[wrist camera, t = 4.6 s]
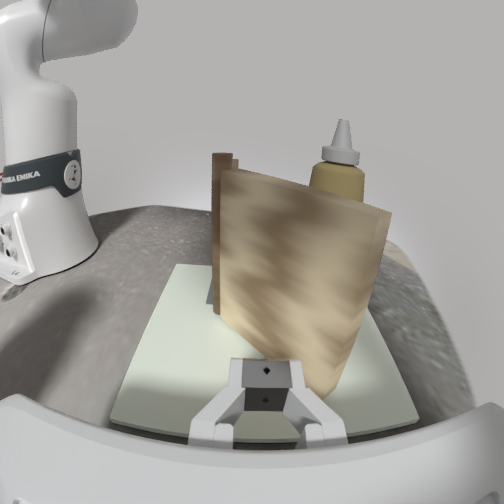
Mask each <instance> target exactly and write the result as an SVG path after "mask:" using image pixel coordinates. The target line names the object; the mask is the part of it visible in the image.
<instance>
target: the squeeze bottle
mask: <svg viewBox="0 0 504 504" xmlns="http://www.w3.org/2000/svg"><path fill="white" fill-rule="evenodd" d="M322 148H323V149H322V159H323V160H326V161H324V162H320V163H318V164H316V165H315V166H313V169H312V174H311V180H310V184H309V187H313V188H316V189H320V190H323V191H326V192H330V193H333V194H336V195H340V196H343V197H346V198H349V199H352V200H356V201H359V202H362V203H363V195H364V177H365V174H364V173H363V172H362V171H361V170H360V169H358V168H357V167H355V166H354V165H358V164H359V156H360V153H359V152H358V151H355V150H353V149H352V142H351V134H350V126H349V121H348V120H342V119H339V122H338V125H337V128H336V132H335V135H334V138H333V141H332V144H331V146H323V147H322Z"/></svg>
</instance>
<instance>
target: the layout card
mask: <svg viewBox="0 0 504 504" xmlns="http://www.w3.org/2000/svg"><path fill="white" fill-rule="evenodd" d="M231 357H233V358H250V359H268V358H266V357H265V356H264V355H263V354H262V353H260V352H259V351H258V350H257V349H256V348H255V347H253V346H252V345H251V344H250V343H249V342H248V341H246V340H245V339H244V338H243V337H242V336H241V335H240V334H238V333H237V332H236V331H235V330H234V329H233V328H232V327H231V326H229V325H228V324H227V323H226V322H225V321H224V320H223V319H222V318H221V317H220V315H217V314H215V313H214V312H213V290H212V266H205V265H187V264H176V266H175V268H174V270H173V272H172V274H171V276H170V278H169V281H168V283H167V285H166V287H165V289H164V291H163V293H162V295H161V297H160V299H159V301H158V303H157V305H156V308H155V310H154V312H153V314H152V316H151V318H150V321H149V323H148V325H147V327H146V329H145V332H144V334H143V336H142V338H141V341H140V343H139V345H138V347H137V350H136V352H135V354H134V357H133V359H132V361H131V364H130V366H129V369H128V371H127V373H126V376H125V378H124V381H123V383H122V386H121V388H120V391H119V393H118V396H117V399H116V401H115V404H114V406H113V409H112V412H111V414H110V417H109V418H110V420H111V421H112V423H116V424H120V425H124V426H128V427H132V428H136V429H141V430H145V431H150V432H155V433H161V434H166V435H173V436H179V437H186V438H189V433H190V427H191V421H192V419H193V418H194V417H195V416H196V415H197V414H198V413H199V412H200V411H201V410H202V409H203V408H204V407H205V406H206V405H207V404H208V403H209V402H210V401H211V400H212V399H213V398H214V397H215V396H216V395H217V394H218V393H219V392H220V391H221V390H222V389H223V388H224V387H228V380H229V368H230V359H231ZM242 365H243V363H242ZM322 401H323V402H324V403H325V404H326V405H327V406H328V407H329V408H330V409H332V410H333V411H334V412H335V413H336V414H337V415H338V416H339V417H340V418H341V419H342V420H343V422H344V426H345V431H346V435H347V437H351V436H357V435H363V434H369V433H374V432H379V431H384V430H389V429H393V428H397V427H402V426H406V425H409V424H413V423H416V422H417V421H418V420H419V416H418V413H417V411H416V409H415V406H414V404H413V402H412V399H411V397H410V395H409V392H408V390H407V388H406V386H405V383H404V381H403V379H402V377H401V375H400V372H399V370H398V368H397V366H396V364H395V362H394V360H393V358H392V356H391V353H390V351H389V349H388V347H387V345H386V343H385V341H384V339H383V337H382V335H381V333H380V331H379V329H378V327H377V325H376V324H375V322H374V320H373V318H372V316H371V314H370V312H369V310H368V308H367V309H366V312H365V315H364V317H363V320H362V323H361V326H360V329H359V332H358V334H357V337H356V340H355V343H354V345H353V348H352V350H351V353H350V355H349V358H348V360H347V363H346V365H345V368H344V370H343V373H342V375H341V377H340V380H339V382H338V384H337V386H336V389H335V390H334V391H332V392H331V393H330V394H329V395H328V396H327V397H326V398H325V399H323V400H322ZM300 436H301V435H300V434H299V433H298V432H297V430H296V429H295V428H294V426H293V425H292V424H291V423H290V421H289V420H288V419H287V417H286V416H285V415H284V413H283V412H279V411H244V413H243V414H242V415H241V417H240V418H239V419H238V421H237V422H236V423H235V424H234V426H233V442H246V443H284V442H298V440H299V438H300Z"/></svg>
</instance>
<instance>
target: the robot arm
mask: <svg viewBox="0 0 504 504" xmlns="http://www.w3.org/2000/svg"><path fill="white" fill-rule="evenodd" d="M137 15H138V8H137V3H136V1H135V0H23V1H19V2H16V3H13V4H10V5H8V6H6V7H4V8H3V9H1V10H0V104H1V108H2V117H3V133H4V147H5V162H6V166H5V167H4V170H3V173H0V176H1V175H3V176H2V178H1V179H0V181H2V187H1V193H2V194H3V195H2V197H1V198H0V277H1V278H3V279H5V280H7V281H9V282H11V283H13V284H15V285H23V284H26V283H28V282H30V281H33V280H35V279H37V278H39V277H42V276H45V275H49V274H53V273H57V272H60V271H63V270H65V269H68V268H70V267H72V266H74V265H76V264H78V263H80V262H82V261H83V260H85V259H86V258H88V257H89V256H90V255H91V254H92V253H93V252H94V251H95V250H96V248H97V247H98V239H97V238H96V236H95V233H94V231H93V229H92V226H91V224H90V221H89V218H88V215H87V211H86V208H85V204H84V200H83V195H82V189H81V183H82V169H81V157H80V150H79V149H77V99H76V96H75V94H74V92H73V91H72V90H71V89H70V88H69V87H67V86H66V85H64V84H61V83H59V82H56V81H53V80H50V79H46V78H44V77H42V76H40V75H39V68H40V64H42V63H44V62H46V61H50V60H56V59H62V58H68V57H75V56H83V55H89V54H93V53H96V52H100V51H104V50H108V49H112V48H116V47H118V46H119V45H120V44H121V43H122V42H124V41H125V39H126V38H127V37H128V36H129V34H130V33H131V31H132V30H133V28H134V26H135V23H136V20H137ZM242 363H243V365H242ZM244 411H279V412H283V413H284V415H285V416H286V417H287V419H288V420H289V421H290V423H291V424H292V425H293V426H294V428H295V429H296V430H297V432H298V433H299V434H300V435H301V436H300V438H299V440H298V442H297V444H296V447H295V449H294V450H234V449H233V426H234V424H235V423H236V422H237V421H238V419H239V418H240V417H241V415H242V414H243V413H244ZM0 504H504V409H503V408H502V407H500V406H499V405H497V404H495V403H493V402H489V403H486V404H484V405H481V406H479V407H477V408H475V409H472V410H470V411H468V412H465V413H463V414H460V415H458V416H455V417H452V418H450V419H447V420H444V421H441V422H438V423H435V424H432V425H429V426H426V427H423V428H419V429H416V430H412V431H409V432H405V433H401V434H397V435H393V436H389V437H384V438H380V439H375V440H370V441H364V442H359V443H353V444H348V440H347V435H346V431H345V426H344V422H343V420H342V419H341V418H340V417H339V416H338V415H337V414H336V413H335V412H334V411H333V410H332V409H330V408H329V407H328V406H327V405H326V404H325V403H324V402H323V401H322V400H321V399H320V398H319V397H318V396H317V395H316V394H315V393H314V392H313V391H312V390H311V389H310V388H306V386H305V380H304V374H303V368H302V363H301V360H300V359H289V360H288V359H250V358H233V357H231V359H230V368H229V380H228V387H224V388H223V389H222V390H221V391H220V392H219V393H218V394H217V395H216V396H215V397H214V398H213V399H212V400H211V401H210V402H209V403H208V404H207V405H206V406H205V407H204V408H203V409H202V410H201V411H200V412H199V413H198V414H197V415H196V416H195V417H194V418H193V419H192V421H191V427H190V433H189V439H188V445H183V444H176V443H170V442H164V441H159V440H154V439H149V438H144V437H140V436H135V435H131V434H127V433H123V432H119V431H116V430H112V429H109V428H105V427H102V426H99V425H96V424H92V423H89V422H86V421H83V420H81V419H78V418H75V417H72V416H70V415H67V414H64V413H62V412H59V411H57V410H55V409H52V408H50V407H48V406H45V405H43V404H41V403H39V402H36V401H34V400H32V399H30V398H28V397H26V396H24V395H22V394H14V395H11V396H9V397H6V398H4V399H2V400H0Z"/></svg>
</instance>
